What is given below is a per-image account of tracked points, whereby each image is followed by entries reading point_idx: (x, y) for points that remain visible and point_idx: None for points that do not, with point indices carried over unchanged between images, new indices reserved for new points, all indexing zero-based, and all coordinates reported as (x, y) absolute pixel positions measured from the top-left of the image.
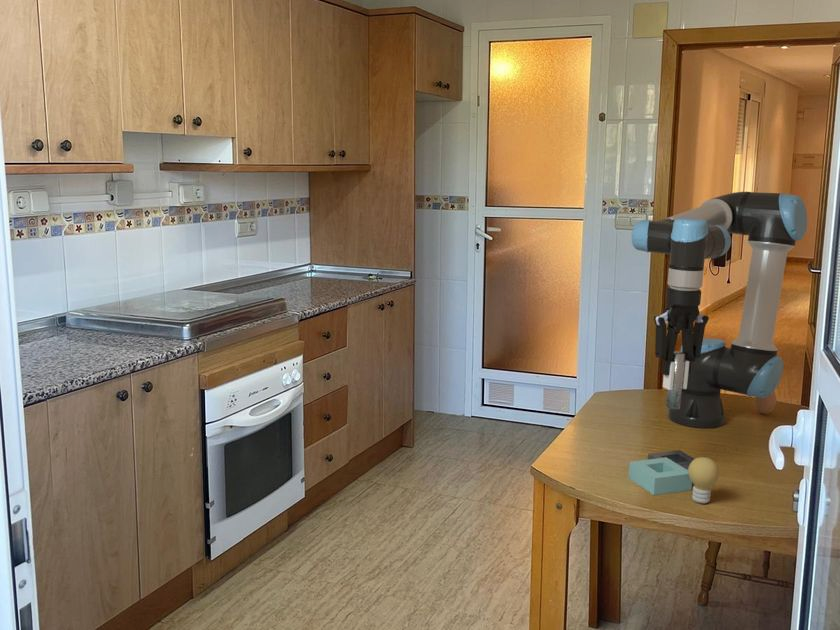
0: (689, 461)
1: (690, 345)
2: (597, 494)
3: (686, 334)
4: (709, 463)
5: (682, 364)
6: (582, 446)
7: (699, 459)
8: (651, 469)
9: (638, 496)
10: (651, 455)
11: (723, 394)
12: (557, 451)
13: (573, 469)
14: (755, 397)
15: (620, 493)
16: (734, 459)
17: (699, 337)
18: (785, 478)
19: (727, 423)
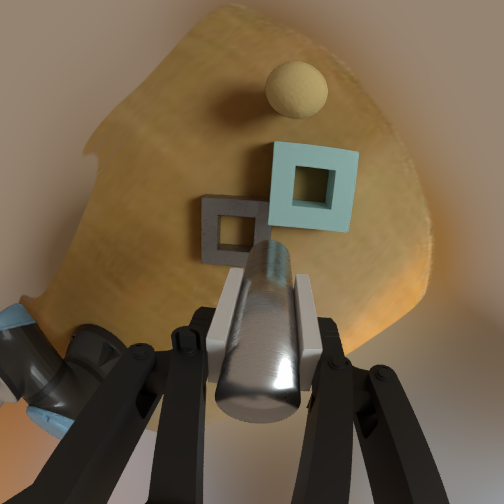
0: (219, 213)
1: (181, 416)
2: (420, 193)
3: (198, 497)
4: (300, 68)
5: (257, 331)
6: None
7: (311, 88)
8: (337, 187)
9: (374, 158)
10: None
11: None
12: (360, 339)
13: (389, 281)
14: None
15: (391, 180)
16: (120, 225)
17: (96, 440)
18: (98, 139)
19: (73, 326)
